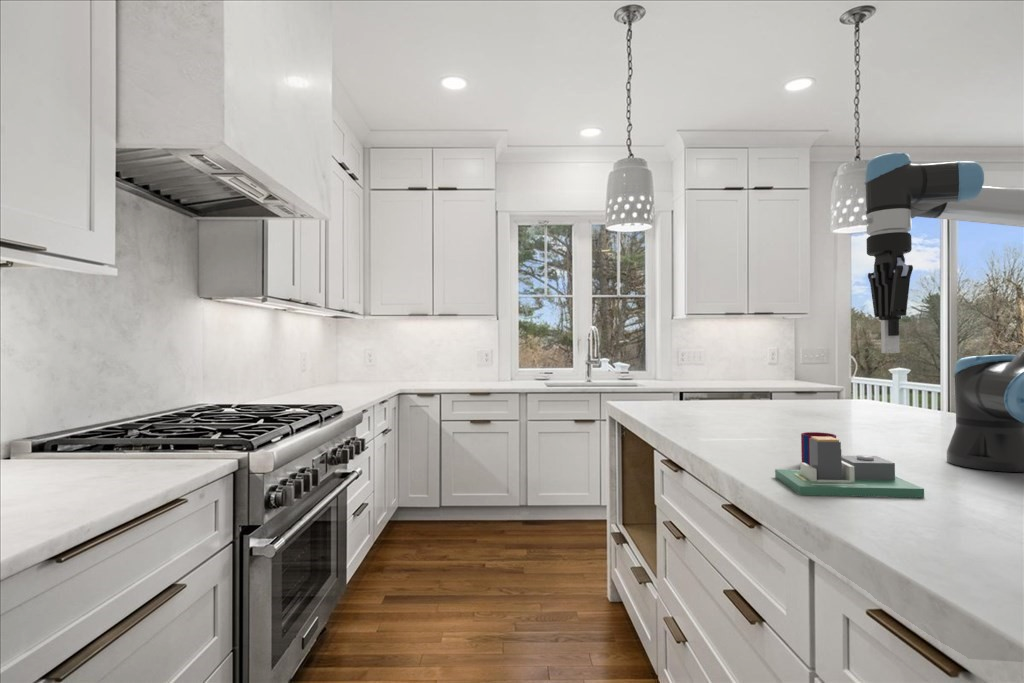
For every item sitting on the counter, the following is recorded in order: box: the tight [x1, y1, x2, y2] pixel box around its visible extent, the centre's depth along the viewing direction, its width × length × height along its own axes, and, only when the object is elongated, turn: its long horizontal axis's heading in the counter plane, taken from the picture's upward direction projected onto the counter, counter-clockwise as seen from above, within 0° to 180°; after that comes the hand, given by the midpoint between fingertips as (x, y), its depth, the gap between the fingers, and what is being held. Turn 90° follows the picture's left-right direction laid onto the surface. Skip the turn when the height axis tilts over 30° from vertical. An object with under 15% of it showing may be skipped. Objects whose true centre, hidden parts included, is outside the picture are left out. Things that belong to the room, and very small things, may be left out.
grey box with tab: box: [841, 454, 896, 480], centre depth 110 cm, size 7×7×4 cm
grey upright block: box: [809, 436, 842, 480], centre depth 108 cm, size 5×4×7 cm
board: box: [774, 461, 925, 498], centre depth 108 cm, size 20×14×4 cm
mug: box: [800, 431, 837, 465], centre depth 124 cm, size 7×10×7 cm
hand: (890, 352), depth 116 cm, fingers closed
